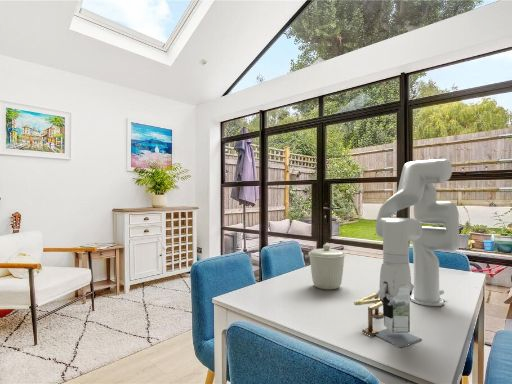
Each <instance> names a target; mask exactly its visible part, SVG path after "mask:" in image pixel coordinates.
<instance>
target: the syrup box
mask: <svg viewBox="0 0 512 384" xmlns="http://www.w3.org/2000/svg"><path fill="white" fill-rule="evenodd" d="M388 294H390V292H389V293H388ZM389 298H390V297H388V296H387V299H388V300H389ZM391 305H393V318H392V319H391V318H388V317H386V316H384V317H383V325H384V327H386V329H387V328H388V329H389V330H390V331H391V332H392V333H403V332H407V333H410V332H411V331H410V329H411V327H410V324H411V321H410V320H411V318H410V317H411V316H410V314H411V300H410V287H409V286H407V285H405V286H402V287H400V288H399V290H398V294H397V296H395V297H393V301H392V304H391Z"/></svg>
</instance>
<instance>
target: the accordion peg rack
mask: <svg viewBox="0 0 512 384" xmlns="http://www.w3.org/2000/svg"><path fill="white" fill-rule="evenodd" d="M377 293H378V291H376V292H374V293H371V294H369V295H367V296H364V297H362V298H359V299H358V300H355V301H353V304H354V306H362V305H370V304H372V305H371V306H368V307H367V325H368V326H367V327H366V328H364V329H363V328H362V329H361V332H364V333H366V334H368V335H370V336H373V335H375V334H377V333H379V331H380V330H378V329H374V328H373V326H374V323H373V321H374V319H373V318H375V317H376V318H375V319H380V317H381V318H384V317H383V316H384V315H383V312H380V310H379V308H380V307H383V303H382V301H381V300H380V298H379V296H378V294H377ZM373 316H374V317H373ZM364 333H363V334H364ZM366 334H365V335H366ZM368 335H367V336H368ZM370 336H369V337H370ZM373 337H374V336H373Z"/></svg>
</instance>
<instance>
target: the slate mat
mask: <svg viewBox="0 0 512 384" xmlns="http://www.w3.org/2000/svg"><path fill="white" fill-rule="evenodd" d="M378 331H379V333H377V334H375V335H376V336H375V337H377V336H378V337H377V338H379V337H380V338H379V339H381V338H382V339H381V340H383V339H384V340H383V341H385V340H386V341H385V342H387V341H388V342H387V343H389V342H391V343H393V344H395V345H397V346H399V347H398V348H400V347H402V348H404V347H403V346H405V347H407V346H406V345H408V344H410V345H412V344H411V343H413V344H415V343H418V342H420V341H422V337H419V336H416V335H414V334H412V333H410V332H403V333H392V332H391V331H390V330H389V329H388V328H387V327H386V328H384V329H382V330H378ZM417 341H418V342H417ZM414 342H415V343H414ZM391 343H390V344H391ZM393 344H392V345H393ZM395 345H394V346H395ZM397 346H396V347H397ZM408 346H409V345H408Z"/></svg>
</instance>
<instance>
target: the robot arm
mask: <svg viewBox="0 0 512 384" xmlns="http://www.w3.org/2000/svg"><path fill="white" fill-rule="evenodd" d="M452 174H453V166H452V163H451V161H450V160H449V159H447V158H442V159H441V158H439V159H426V160H422V159H421V160H415V161H414V160H413V161H408V162H406V163H404V165H403V166H402V171H401V175H400V179H399V183H398V187H397V191H396V193H394V194H393V195H392V196H390V197H389V198H388V199H387V200H385V202H383V204H382V205H381V206H380V207H379V210H378V213H377V217H376V222H375V233H376V235H377V236H378V237H379V238H380V239H382V255H383V256H382V257H383V259H382V261H383V262H381V267H380V274H379V288H378V289H379V290H378V291H377V294H378V296H379V298H380V300H381V301H382V303H383V306H382V313H383V315H384V316H386V317H388V318H391V319H392V318H393V305H391V304H392V301H393V297H395V296H397V294H398V290H399V288H400V287H402V286H405V285H407V286H409V287H410V302H413V303H415V304H418V305H422V306H427V307H439V306H440V307H441V306H444V304H445V302H444V300H443V298H441V295H444V294H445V291H444V290H443V289H440V260H439V258H438V256H437V255H436V254H435V252H434V251H440V252H456V251H457V250H458V249H459V247H460V221H459V219H460V218H459V216H460V215H459V208H458V207H457V206H458V205H457V204H456V203H455V202H453V201H448V200H447V201H442V200H440V201H439V200H437V189H436V187H435V186H434V184H443V183H445V182H448V181H449V180H450V179H451V177H452ZM412 206H413V217H414V218H410V217H392V215H393V214H394V213H396V212H399V211H401V210H403V209H404V210H405V209H406V208H409V207H412ZM422 224H424V225H425V224H426V225H427V224H428V225H442V226H444V227H435V226H423V225H422ZM410 242H411V247H412V254H413V260H412V261H413V284H412V274H411V266H410ZM389 292H390V294H388V293H389ZM387 296H388V297H390V298H389V300H388V299H387Z"/></svg>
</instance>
